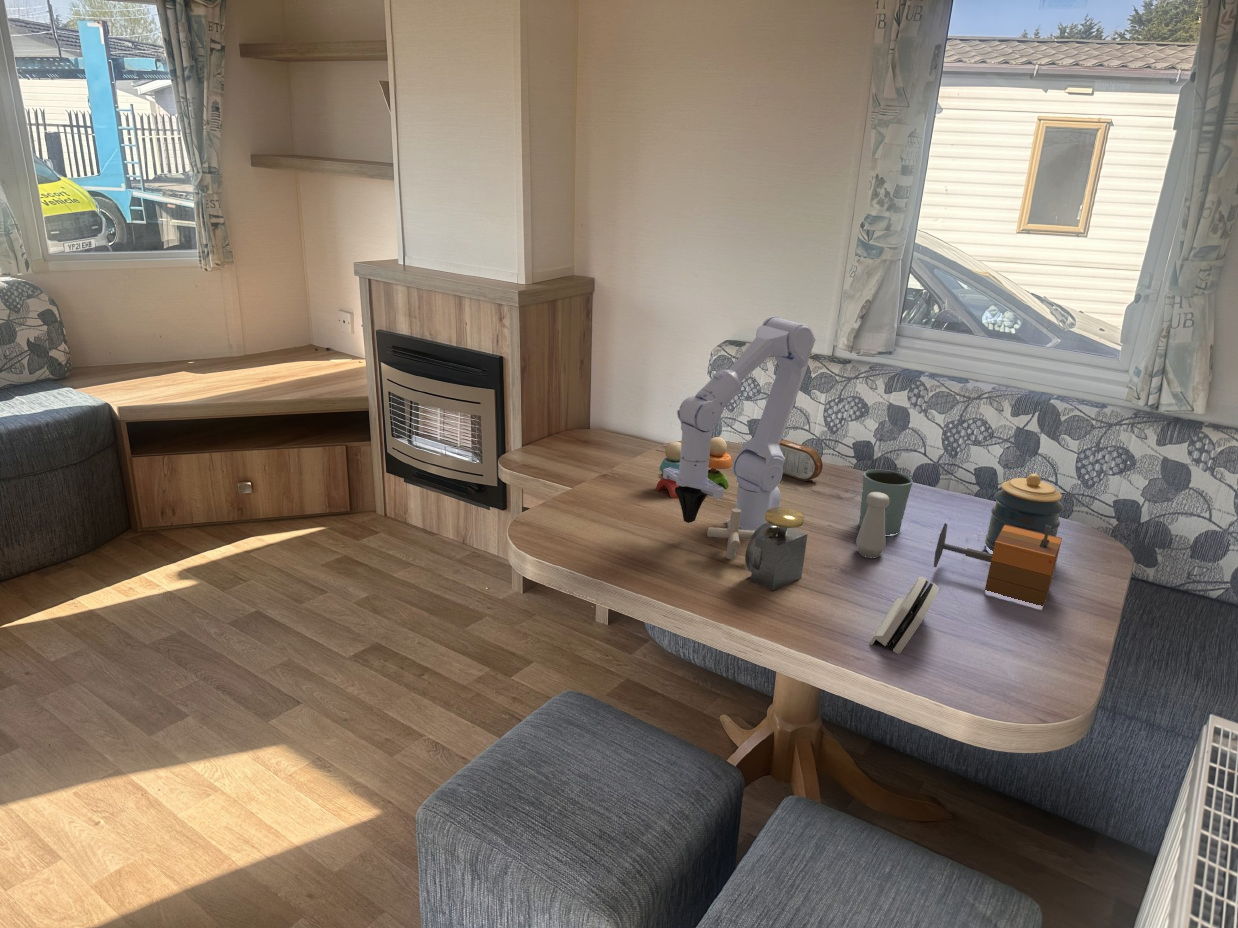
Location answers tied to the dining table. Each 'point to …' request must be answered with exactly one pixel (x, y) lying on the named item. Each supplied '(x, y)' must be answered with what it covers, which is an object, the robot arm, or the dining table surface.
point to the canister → (1025, 507)
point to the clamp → (1015, 562)
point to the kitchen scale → (777, 549)
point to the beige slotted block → (906, 615)
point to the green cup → (894, 488)
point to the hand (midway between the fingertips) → (689, 520)
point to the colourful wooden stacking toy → (716, 461)
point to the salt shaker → (873, 526)
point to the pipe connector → (731, 533)
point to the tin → (800, 461)
